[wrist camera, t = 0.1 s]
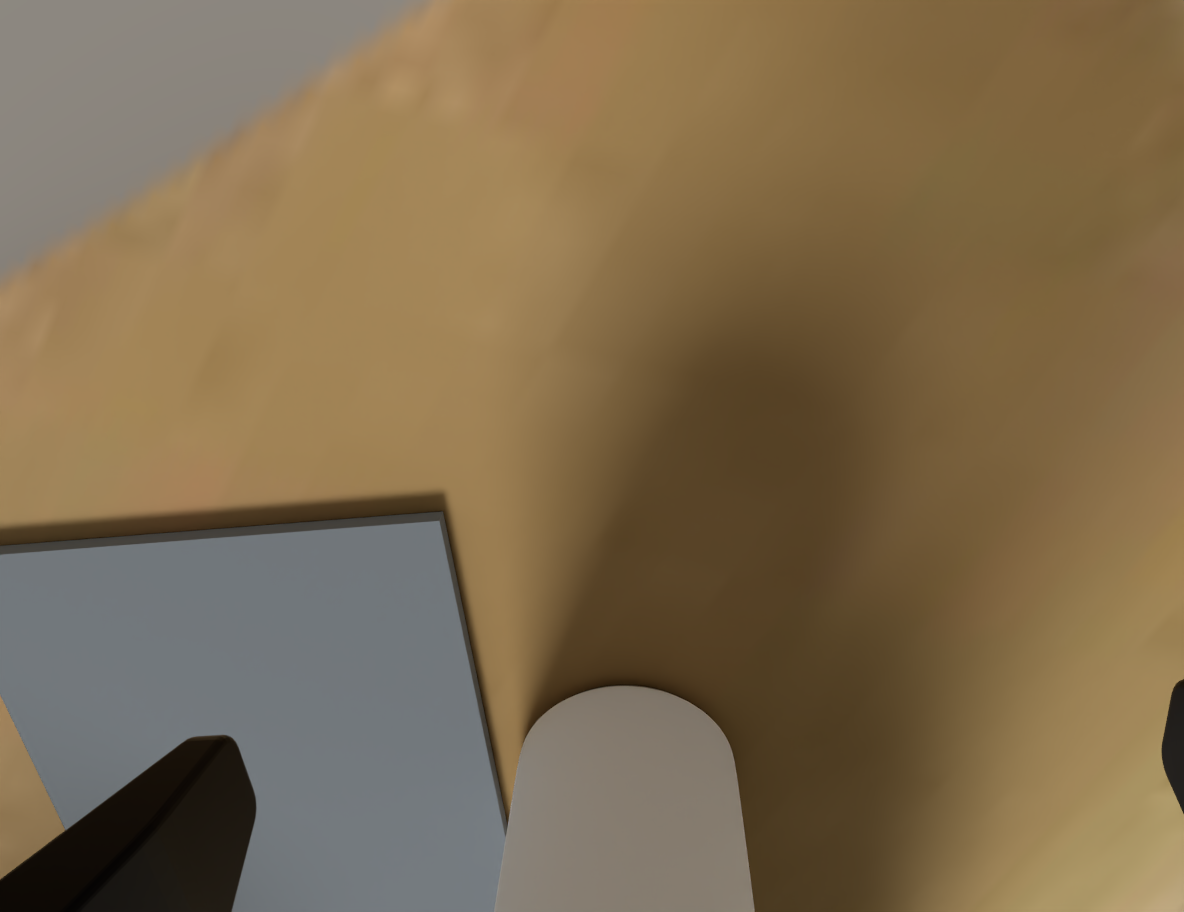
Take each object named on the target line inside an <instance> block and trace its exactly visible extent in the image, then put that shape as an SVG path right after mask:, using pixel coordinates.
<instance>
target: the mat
mask: <svg viewBox="0 0 1184 912" xmlns="http://www.w3.org/2000/svg"><path fill="white" fill-rule="evenodd" d="M0 695H1V697H2V699H3V701H4V703H5V706H6V708H7V710H8V712H9V714H10V716H11V718H12V720H13V722H14V724H15V726H16V728H17V730H18V732H19V735H20V737H21V739H22V741H23V743H24V745H25V747H26V749H27V751H28V753H29V755H30V757H31V759H32V762H33V764H34V766H35V768H36V770H37V772H38V774H39V776H40V778H41V780H42V782H43V784H44V786H45V788H46V791H47V793H48V795H49V797H50V799H51V801H52V803H53V805H54V807H55V809H56V811H57V813H58V815H59V817H60V820H61V822H62V824H63V826H64V828H65V830H67V829H68V828H69V827H71V826H72V825H73V824H75V823H76V822H77V821H79V820H80V819H81V818H83V817H84V816H85V815H87V814H88V813H89V812H91V811H92V810H93V809H95V808H96V807H97V806H99V805H100V804H101V803H103V802H104V801H105V800H106V799H108V798H109V797H110V796H112V795H113V794H114V793H116V792H117V791H118V790H120V789H121V788H122V787H124V786H125V785H126V784H128V783H129V782H130V781H132V780H133V779H134V778H136V777H137V776H138V775H140V774H141V773H142V772H144V771H145V770H146V769H148V768H149V767H150V766H152V765H153V764H154V763H156V762H157V761H158V760H160V759H161V758H162V757H164V756H165V755H166V754H168V753H169V752H170V751H172V750H173V749H174V748H176V747H177V746H178V745H179V744H181V743H182V742H184V741H185V740H187V739H189V738H191V737H196V736H209V735H228V736H231V737H232V738H233V739H234V740H235V741H236V743H237V745H238V747H239V750H240V753H241V755H242V758H243V761H244V764H245V767H246V769H247V772H248V775H249V778H250V781H251V784H252V786H253V789H254V792H255V796H256V807H257V810H256V818H255V823H254V827H253V831H252V835H251V839H250V843H249V847H248V851H247V854H246V858H245V862H244V866H243V870H242V874H241V878H240V882H239V886H238V890H237V894H236V897H235V901H234V905H233V909H232V912H494V909H495V903H496V897H497V890H498V884H499V878H500V871H501V865H502V859H503V852H504V846H505V840H506V834H507V827H508V826H507V821H506V816H505V811H504V806H503V801H502V797H501V792H500V787H499V782H498V777H497V772H496V767H495V763H494V758H493V753H492V748H491V743H490V738H489V733H488V728H487V724H486V719H485V714H484V709H483V704H482V699H481V694H480V689H479V685H478V680H477V675H476V670H475V665H474V660H473V655H472V651H471V646H470V641H469V636H468V631H467V626H466V621H465V616H464V612H463V607H462V602H461V597H460V592H459V587H458V582H457V577H456V573H455V568H454V563H453V558H452V553H451V548H450V543H449V538H448V534H447V529H446V524H445V519H444V514H443V511H442V512H429V513H416V514H403V515H390V516H377V517H365V518H352V519H339V520H326V521H313V522H300V523H288V524H275V525H262V526H249V527H236V528H223V529H211V530H198V531H185V532H172V533H159V534H146V535H134V536H121V537H108V538H95V539H82V540H69V541H57V542H44V543H31V544H18V545H5V546H0Z"/></svg>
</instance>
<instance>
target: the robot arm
mask: <svg viewBox="0 0 1184 912" xmlns="http://www.w3.org/2000/svg"><path fill="white" fill-rule="evenodd" d="M1162 760H1163V765H1164V769H1165V772H1166V775H1167V777H1168V780H1169V782H1170V784H1171V786H1172V789H1173V791H1174V793H1175V795H1176V798H1177V800H1178V802H1179V804H1180V807H1181V809H1182V811H1183V813H1184V679H1183V680H1181V681H1179V682H1178V683H1177V684H1176V685H1175V687H1174V688H1173V692H1172V695H1171V700H1170V705H1169V711H1168V716H1167V721H1166V726H1165V732H1164V737H1163V742H1162ZM256 810H257V807H256V796H255V792H254V789H253V786H252V784H251V781H250V778H249V775H248V772H247V769H246V767H245V764H244V761H243V758H242V755H241V753H240V750H239V747H238V745H237V743H236V741H235V740H234V739H233V738H232V737H231V736H228V735H209V736H196V737H191V738H189V739H187V740H185V741H184V742H182V743H181V744H179V745H178V746H177V747H176V748H174V749H173V750H172V751H170V752H169V753H168V754H166V755H165V756H164V757H162V758H161V759H160V760H158V761H157V762H156V763H154V764H153V765H152V766H150V767H149V768H148V769H146V770H145V771H144V772H142V773H141V774H140V775H138V776H137V777H136V778H134V779H133V780H132V781H130V782H129V783H128V784H126V785H125V786H124V787H122V788H121V789H120V790H118V791H117V792H116V793H114V794H113V795H112V796H110V797H109V798H108V799H106V800H105V801H104V802H103V803H101V804H100V805H99V806H97V807H96V808H95V809H93V810H92V811H91V812H89V813H88V814H87V815H85V816H84V817H83V818H81V819H80V820H79V821H77V822H76V823H75V824H73V825H72V826H71V827H69V828H68V829H67V830H65V831H64V832H63V833H61V834H60V835H59V836H57V837H56V838H55V839H53V840H52V841H51V842H49V843H48V844H47V845H45V846H44V847H43V848H41V849H40V850H39V851H37V852H36V853H35V854H34V855H32V856H31V857H30V858H28V859H27V860H26V861H24V862H23V863H22V864H20V865H19V866H18V867H16V868H15V869H14V870H12V871H11V872H10V873H8V874H7V875H6V876H4V877H3V878H2V879H0V912H232V909H233V905H234V901H235V897H236V894H237V890H238V886H239V882H240V878H241V874H242V870H243V866H244V862H245V858H246V854H247V851H248V847H249V843H250V839H251V835H252V831H253V827H254V823H255V818H256Z"/></svg>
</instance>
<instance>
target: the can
mask: <svg viewBox="0 0 1184 912" xmlns="http://www.w3.org/2000/svg"><path fill="white" fill-rule="evenodd" d="M494 912H755V909H754V901H753V894H752V886H751V878H750V870H749V862H748V855H747V847H746V839H745V832H744V824H743V817H742V809H741V801H740V794H739V787H738V780H737V773H736V767H735V761H734V757H733V753H732V750H731V747H730V744H729V742H728V740H727V738H726V736H725V735H724V733H723V732H722V730H721V729H720V728H719V726H718V725H717V724H716V723H715V722H714V721H713V720H712V719H711V718H710V717H709V716H708V715H707V714H706V713H704V712H703V711H702V710H701V709H699V708H698V707H696V706H695V705H693V704H691V703H690V702H688V701H686V700H684V699H682V698H679V697H677V696H675V695H673V694H670V693H668V692H665V691H662V690H658V689H655V688H650V687H645V686H637V685H612V686H604V687H599V688H595V689H591V690H587V691H585V692H582V693H579V694H577V695H574V696H572V697H570V698H568V699H566V700H564V701H562V702H560V703H558V704H557V705H555V706H554V707H552V708H551V709H550V710H548V711H547V712H546V713H545V714H543V715H542V716H541V717H540V718H539V719H538V720H537V722H536V723H535V724H534V725H533V727H532V728H531V730H530V731H529V733H528V734H527V736H526V738H525V741H524V743H523V746H522V749H521V753H520V757H519V762H518V767H517V773H516V779H515V785H514V791H513V797H512V803H511V809H510V815H509V821H508V827H507V834H506V840H505V846H504V852H503V859H502V865H501V871H500V878H499V884H498V890H497V897H496V903H495V909H494Z"/></svg>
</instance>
